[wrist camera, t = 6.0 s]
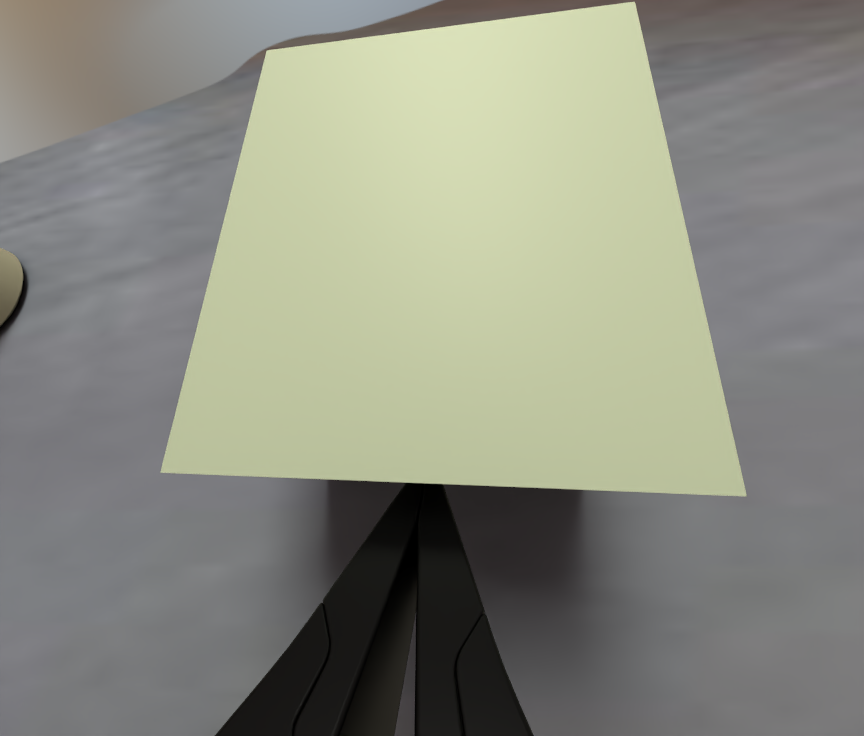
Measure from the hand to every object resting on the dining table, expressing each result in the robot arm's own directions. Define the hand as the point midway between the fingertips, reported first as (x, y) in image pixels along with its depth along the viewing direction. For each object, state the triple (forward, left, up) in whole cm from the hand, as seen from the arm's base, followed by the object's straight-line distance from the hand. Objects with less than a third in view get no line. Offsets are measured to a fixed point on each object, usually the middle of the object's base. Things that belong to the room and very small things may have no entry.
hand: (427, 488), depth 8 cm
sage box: (+5, -5, -7) cm, 10 cm away
